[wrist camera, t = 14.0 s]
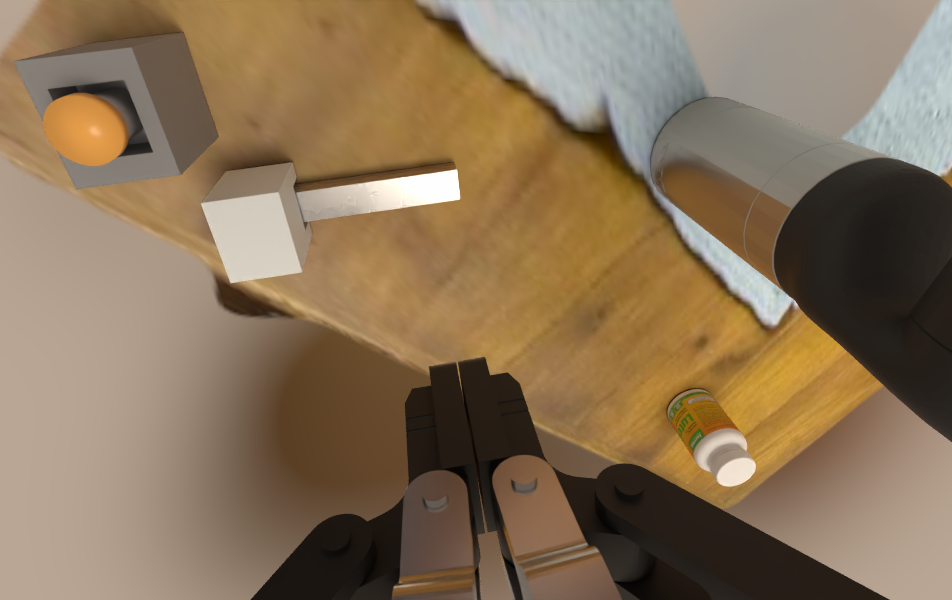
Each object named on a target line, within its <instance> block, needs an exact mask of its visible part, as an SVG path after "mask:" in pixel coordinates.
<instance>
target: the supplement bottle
mask: <svg viewBox="0 0 952 600" xmlns="http://www.w3.org/2000/svg"><path fill="white" fill-rule="evenodd" d="M668 418H669V420H670V422H671V424H672V425H673V427H674V429H675V430H676V432H677V433H678V435H679V436H680V438H681V439H682V441H683V443H684V444H685V446H686V447H687V449H688V450H689V452H690V453H691V455H692V456H693V458H694V460H695V461H696V462H697V464H698V465H699V466H700V467H701V468H702V469H704V470H706V471H710V472H711V473H712V474H713V476H714V477H715V479H716V480H717V481H718V483H719V484H721V485H723V486H736V485H739V484H741V483H743V482H745V481H746V480H748V479H749V478H750V477H751V476H752V475H753V473H754V471H755V468H756V464H755V462H754V460H753V459H752V458H751V456H750V455H749V453H748V452H747V451H746V450H747V442H746V440H745V438H744V436H743V435H742V433H741V432H740V431H739V429H738V428H737V427H736V426H735V424H734V423H733V422H732V421H731V419H730V418H729V417H728V416H727V414H726V413H725V412H724V410H723V409H722V408H721V407H720V405H719V404H718V403H717V401H716V400H715V399H714V397H713V396H712V395H711V394H710V393H709V392H707V391H705V390H702V389H692V390H688V391H686V392H683V393H681V394H680V395H678V396H677V397H676V398H675V399H674V400H673V401H672V402H671V403H670V405H669V408H668Z"/></svg>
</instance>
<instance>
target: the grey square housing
mask: <svg viewBox="0 0 952 600" xmlns="http://www.w3.org/2000/svg"><path fill="white" fill-rule="evenodd" d="M13 62H14V64H15V66H16V68H17V70H18V72H19V74H20V76H21V79H22V81H23V83H24V85H25V87H26V89H27V91H28V93H29V95H30V97H31V99H32V101H33V103H34V105H35V107H36V109H37V111H38V113H39V115H40V117H41V119H42V121H43V117H44V113H45V110H46V109H47V107H48V106H49V105H50V104H51V103H52V102H53V101H55V100H56V99H59V98H61V97H64V96H66V95H69V94H73V93H89V94H95V93H97V92H99V91H102V90H104V89H107V88H111V87H117V88H122V89H125V90H128V91H129V93H130V96H131V98H132V101H133V103H134V106H135V108H136V110H137V113H138V115H139V118H140V120H141V123H142V125H143V128H144V129H143V130H142V131H141V132H139V133H138V134H136V135H135V136H133V137H132V138H130V139H129V140H128V144H127V147H126V149H125V150H124V152H123V153H122V154H121V155H119V156H118V157H116V158H115V159H114V160H112V161H111V162H109V163H107V164H104V165H100V166H86V165H82V164H78V163H76V162H73V161H71V160H69V159H68V158H66V157H64V156H63V155H62V154H60V153H59V152H58V151H57V152H58V154H59V156H60V158H61V160H62V162H63V164H64V166H65V168H66V170H67V172H68V174H69V176H70V178H71V180H72V182H73V184H74V186H75V188H76V189H82V188H89V187H96V186H104V185H111V184H118V183H126V182H133V181H140V180H148V179H155V178H162V177H170V176H177V175H181V174H182V173H183V172H184V171H185V170H186V169H187V168H188V167H189V166H190V165H191V164H192V163H193V162H194V161H195V160H196V159H197V158H198V157H199V156H200V155H201V154H202V153H203V152H204V151H205V150H206V149H207V148H208V147H209V146H210V145H211V144H212V143H213V142H214V141H215V140H216V139H217V138H218V134H217V131H216V128H215V125H214V122H213V119H212V116H211V113H210V110H209V107H208V104H207V101H206V98H205V95H204V92H203V89H202V86H201V83H200V80H199V77H198V74H197V71H196V68H195V65H194V62H193V59H192V56H191V53H190V50H189V47H188V44H187V41H186V38H185V36H184V33H183V32H180V33H172V34H163V35H155V36H146V37H138V38H130V39H121V40H113V41H104V42H96V43H89V44H85V45H80V46H76V47H72V48H68V49H64V50H59V51H55V52H51V53H47V54H43V55H38V56H34V57H30V58H26V59H22V60H17V61H13Z"/></svg>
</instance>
